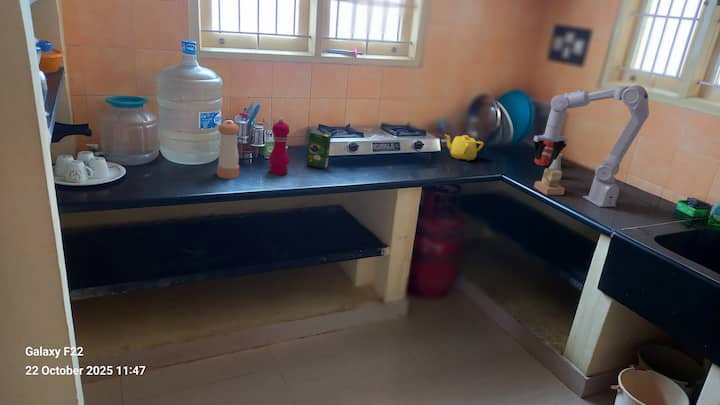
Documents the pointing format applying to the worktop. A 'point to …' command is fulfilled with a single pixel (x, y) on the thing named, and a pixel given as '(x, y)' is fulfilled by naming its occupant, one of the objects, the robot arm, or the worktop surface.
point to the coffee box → (318, 149)
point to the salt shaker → (228, 151)
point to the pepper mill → (279, 148)
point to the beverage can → (545, 155)
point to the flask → (557, 163)
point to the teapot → (463, 147)
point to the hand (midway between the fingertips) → (545, 159)
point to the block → (551, 177)
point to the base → (549, 189)
